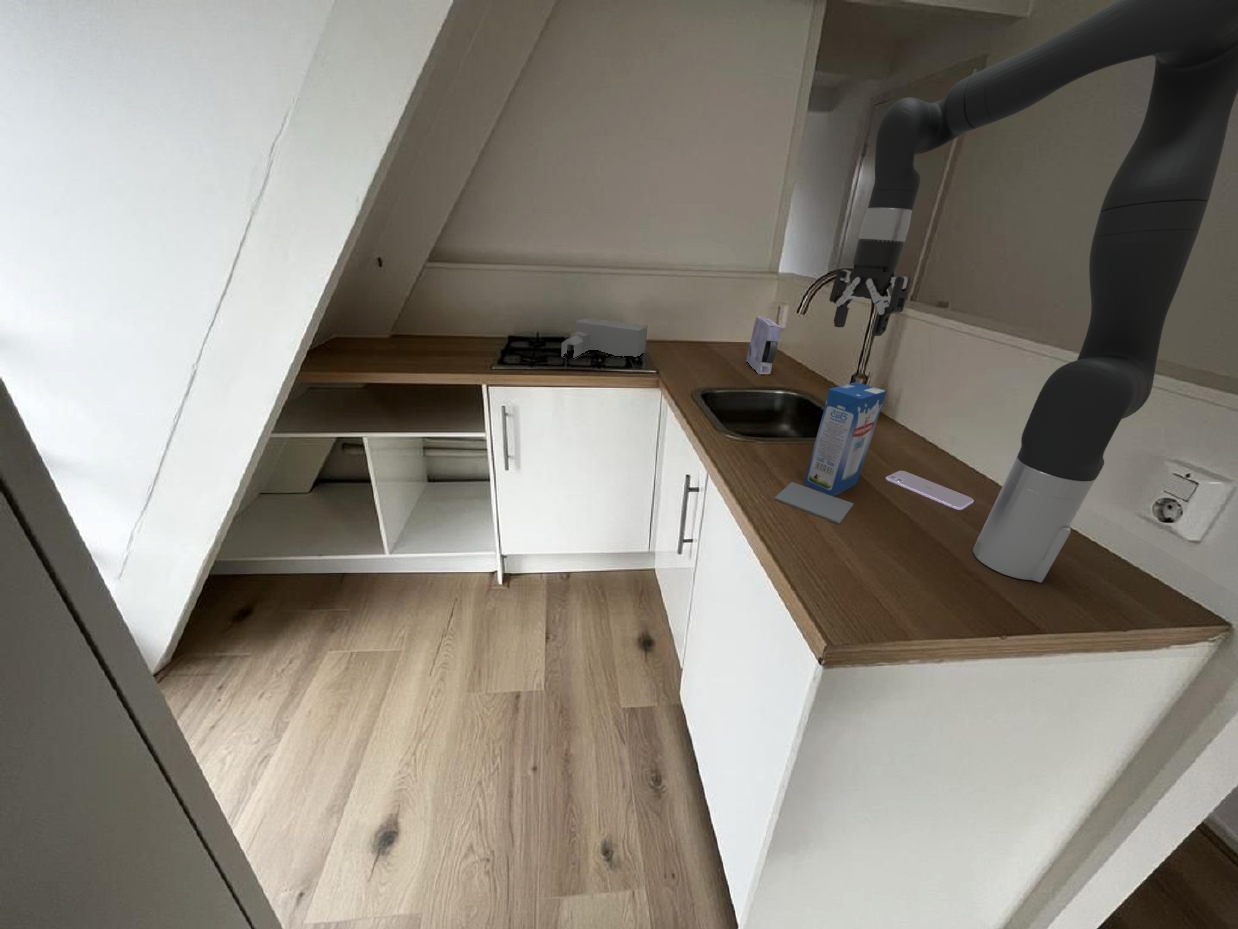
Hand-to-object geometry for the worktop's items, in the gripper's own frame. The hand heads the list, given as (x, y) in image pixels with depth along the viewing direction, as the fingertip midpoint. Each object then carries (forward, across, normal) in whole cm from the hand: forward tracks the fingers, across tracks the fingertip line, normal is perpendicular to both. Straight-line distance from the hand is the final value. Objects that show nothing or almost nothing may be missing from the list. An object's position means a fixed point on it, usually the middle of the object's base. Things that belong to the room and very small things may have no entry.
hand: (856, 331), depth 94 cm
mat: (+30, -10, +13) cm, 34 cm away
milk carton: (+30, -6, +4) cm, 30 cm away
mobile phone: (+30, -15, -15) cm, 37 cm away
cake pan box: (+29, +70, -45) cm, 88 cm away
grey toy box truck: (+28, +100, +4) cm, 105 cm away
